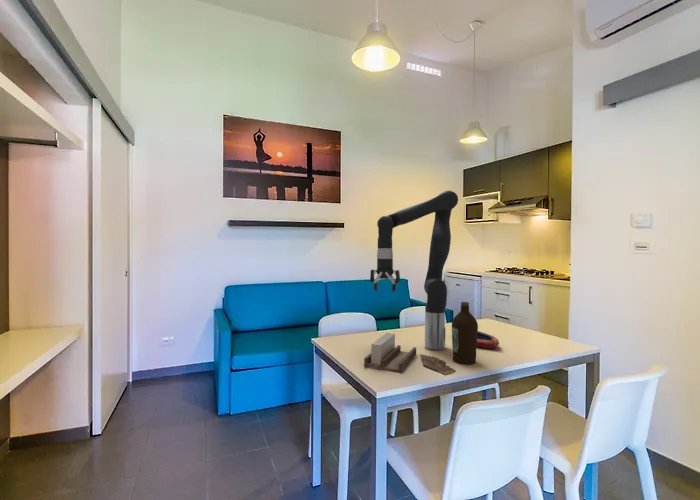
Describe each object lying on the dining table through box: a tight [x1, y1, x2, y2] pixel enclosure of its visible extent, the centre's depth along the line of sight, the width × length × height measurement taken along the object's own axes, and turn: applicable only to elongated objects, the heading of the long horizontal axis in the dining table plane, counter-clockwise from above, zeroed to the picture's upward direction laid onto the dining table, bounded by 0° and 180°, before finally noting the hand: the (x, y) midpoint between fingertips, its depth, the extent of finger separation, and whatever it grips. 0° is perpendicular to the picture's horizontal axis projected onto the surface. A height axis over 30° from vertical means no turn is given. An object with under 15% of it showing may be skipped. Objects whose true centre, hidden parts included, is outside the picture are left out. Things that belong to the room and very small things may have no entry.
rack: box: [363, 345, 417, 374], centre depth 150 cm, size 16×24×4 cm, turn 157°
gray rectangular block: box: [370, 332, 396, 365], centre depth 151 cm, size 4×20×8 cm, turn 157°
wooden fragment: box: [419, 353, 457, 376], centre depth 147 cm, size 26×11×1 cm, turn 8°
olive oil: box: [451, 301, 479, 365], centre depth 150 cm, size 11×11×25 cm
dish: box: [477, 330, 500, 349], centre depth 180 cm, size 16×31×5 cm, turn 17°
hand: (384, 291), depth 170 cm, fingers open, 8 cm apart
